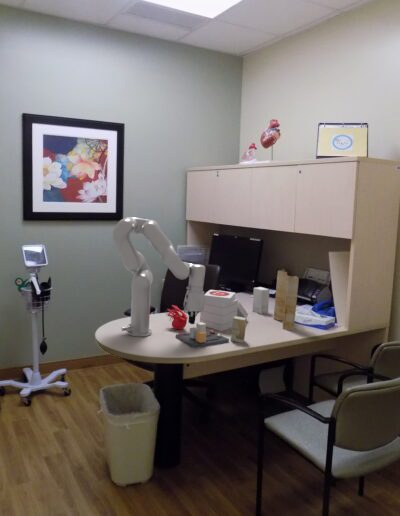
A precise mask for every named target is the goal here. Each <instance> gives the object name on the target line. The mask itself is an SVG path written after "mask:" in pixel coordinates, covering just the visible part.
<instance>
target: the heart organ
mask: <svg viewBox="0 0 400 516" xmlns="http://www.w3.org/2000/svg"><path fill="white" fill-rule="evenodd" d="M171 307H172V308H167V312H165V315H166V316H167V317H170V318H169V321H170V322H171V326H172V328H173V329H175V330H178V331H181V330H183V329H184V328H185V327H186V325H187V323H188V320H189V316H188V314H187V313H184V310H182V309H180V308H179V307H178V306H177V305H173V304H172V305H171Z"/></svg>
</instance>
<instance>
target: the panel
mask: <svg viewBox="0 0 400 516" xmlns="http://www.w3.org/2000/svg"><path fill="white" fill-rule="evenodd" d="M189 333H190V332H184V333H178V334H177V333H176V334H175V338H176V339H177V340H180V341H181V342H182V343H184V344H187V345H188V346H190V347H191V348H193V349H196V348H203V347H208V346H215V345H221V344H225V343H226V344H227V343H229V342H230V341H229V340H230V339H229V338H227V337H226V336H223V334H222V333H217V332H216V330H211V329H206V342H202V343H200V342H198V341H196V339H192V338H190V337H189Z"/></svg>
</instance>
